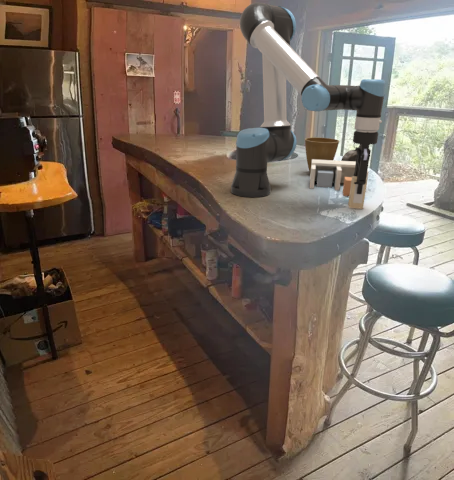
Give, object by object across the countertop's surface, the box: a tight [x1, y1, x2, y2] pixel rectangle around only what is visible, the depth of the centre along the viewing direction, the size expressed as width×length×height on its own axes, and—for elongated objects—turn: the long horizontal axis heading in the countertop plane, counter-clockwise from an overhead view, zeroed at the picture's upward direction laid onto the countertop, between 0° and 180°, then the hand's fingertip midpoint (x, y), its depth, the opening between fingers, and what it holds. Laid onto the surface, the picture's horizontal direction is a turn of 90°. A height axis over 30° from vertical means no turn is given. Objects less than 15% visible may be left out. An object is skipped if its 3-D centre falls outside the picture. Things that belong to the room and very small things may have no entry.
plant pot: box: [304, 136, 340, 174], centre depth 182 cm, size 15×15×16 cm
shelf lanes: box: [309, 159, 369, 191], centre depth 165 cm, size 22×16×9 cm
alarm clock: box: [340, 142, 359, 162], centre depth 178 cm, size 11×5×16 cm, turn 104°
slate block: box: [316, 170, 333, 188], centre depth 165 cm, size 6×6×6 cm
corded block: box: [342, 176, 368, 210], centre depth 144 cm, size 6×21×10 cm, turn 169°
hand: (356, 200), depth 138 cm, fingers closed on corded block, 4 cm apart
